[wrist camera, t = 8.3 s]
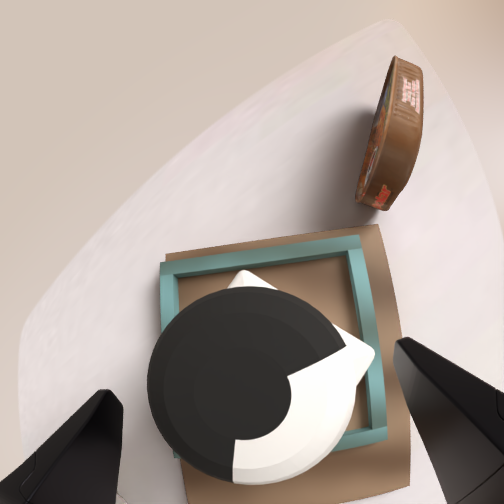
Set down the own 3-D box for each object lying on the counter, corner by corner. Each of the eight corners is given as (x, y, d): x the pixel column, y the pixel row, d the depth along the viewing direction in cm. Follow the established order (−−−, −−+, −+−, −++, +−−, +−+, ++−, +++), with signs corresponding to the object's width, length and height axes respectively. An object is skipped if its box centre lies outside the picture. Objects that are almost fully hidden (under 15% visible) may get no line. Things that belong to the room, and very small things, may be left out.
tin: (377, 102, 26) (390, 38, 18) (405, 111, 25) (424, 49, 17) (346, 220, 22) (368, 152, 14) (383, 233, 21) (421, 172, 13)
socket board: (404, 480, 14) (414, 490, 12) (194, 502, 16) (184, 513, 14) (374, 230, 21) (381, 217, 19) (171, 258, 23) (160, 249, 21)
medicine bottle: (199, 381, 18) (83, 402, 7) (259, 296, 20) (211, 215, 9) (287, 440, 16) (274, 544, 5) (349, 352, 18) (429, 346, 6)
